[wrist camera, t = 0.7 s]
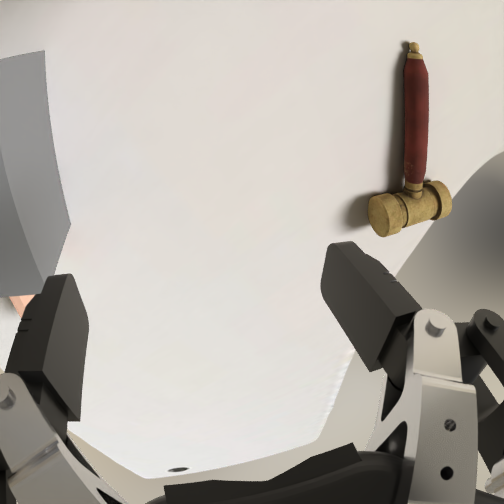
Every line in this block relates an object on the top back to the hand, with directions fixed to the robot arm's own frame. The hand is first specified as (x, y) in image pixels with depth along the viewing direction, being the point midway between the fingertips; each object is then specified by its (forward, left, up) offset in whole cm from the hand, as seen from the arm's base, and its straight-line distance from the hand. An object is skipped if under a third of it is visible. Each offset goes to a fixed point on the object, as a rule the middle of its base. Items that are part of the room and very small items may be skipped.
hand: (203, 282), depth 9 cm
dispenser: (0, -16, -18) cm, 24 cm away
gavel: (0, +23, -19) cm, 30 cm away
